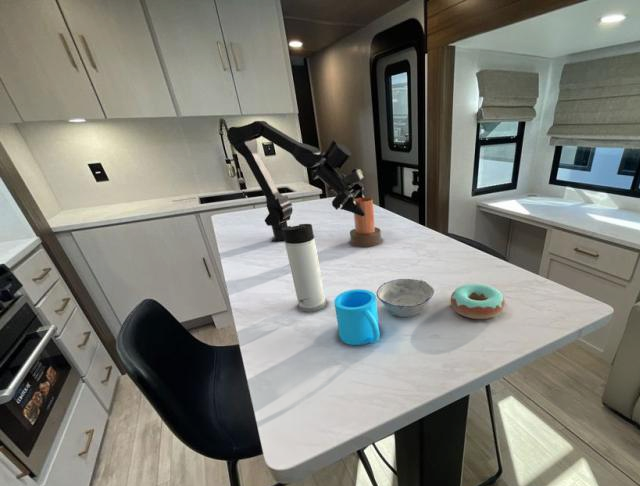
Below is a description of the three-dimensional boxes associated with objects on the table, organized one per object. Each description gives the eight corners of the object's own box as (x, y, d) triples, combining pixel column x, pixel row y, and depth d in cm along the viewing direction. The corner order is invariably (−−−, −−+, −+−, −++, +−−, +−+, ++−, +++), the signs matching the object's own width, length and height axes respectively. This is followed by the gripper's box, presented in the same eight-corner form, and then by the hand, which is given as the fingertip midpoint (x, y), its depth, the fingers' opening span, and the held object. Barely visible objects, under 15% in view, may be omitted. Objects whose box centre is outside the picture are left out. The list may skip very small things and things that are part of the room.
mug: (333, 331, 67) (327, 297, 63) (366, 318, 71) (363, 285, 67) (360, 360, 59) (355, 324, 55) (396, 344, 63) (395, 308, 59)
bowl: (391, 291, 82) (390, 274, 79) (439, 299, 77) (440, 281, 75) (368, 317, 71) (366, 298, 69) (423, 328, 67) (423, 308, 65)
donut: (447, 296, 79) (448, 281, 77) (496, 295, 78) (498, 280, 76) (453, 323, 68) (454, 307, 66) (509, 322, 68) (512, 306, 66)
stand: (351, 238, 120) (350, 227, 118) (380, 236, 121) (379, 225, 119) (350, 248, 111) (349, 237, 109) (382, 245, 112) (381, 234, 110)
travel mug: (302, 315, 73) (284, 230, 63) (296, 303, 78) (278, 222, 68) (329, 308, 76) (315, 225, 66) (321, 296, 81) (307, 218, 71)
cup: (352, 233, 112) (349, 201, 107) (360, 227, 118) (357, 197, 112) (370, 234, 110) (367, 202, 105) (377, 228, 116) (375, 197, 111)
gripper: (336, 164, 96) (374, 202, 99) (356, 157, 111) (388, 190, 115) (316, 191, 101) (353, 226, 104) (338, 181, 117) (369, 212, 120)
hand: (367, 212), depth 111 cm, fingers closed on cup, 7 cm apart
